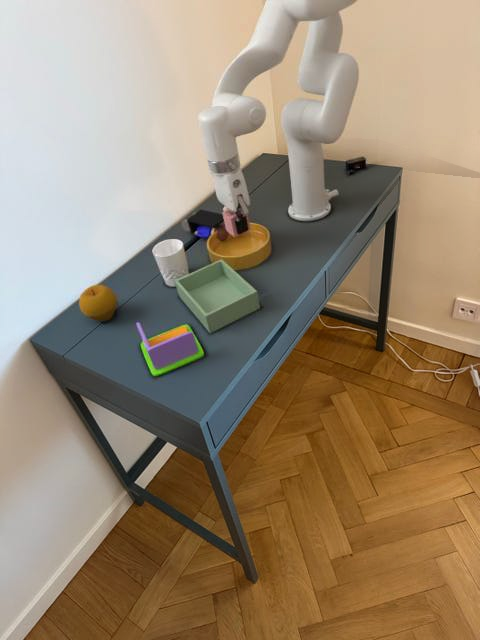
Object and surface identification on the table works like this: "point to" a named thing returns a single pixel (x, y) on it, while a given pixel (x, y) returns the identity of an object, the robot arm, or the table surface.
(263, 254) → the bowl
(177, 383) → the table surface
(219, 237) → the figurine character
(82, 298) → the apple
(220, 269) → the tub
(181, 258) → the white cup
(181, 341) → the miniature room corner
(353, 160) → the wireless earbuds
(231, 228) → the toy bear
